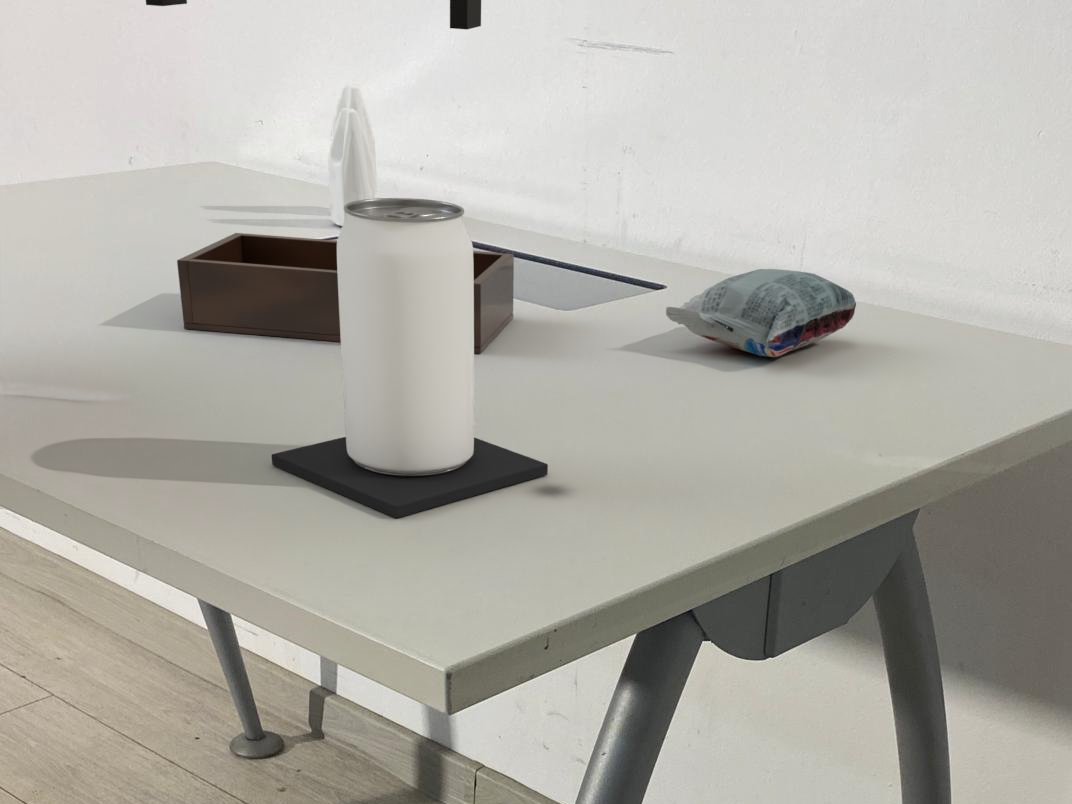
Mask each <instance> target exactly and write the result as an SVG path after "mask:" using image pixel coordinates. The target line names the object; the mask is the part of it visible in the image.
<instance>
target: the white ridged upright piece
mask: <svg viewBox="0 0 1072 804" xmlns="http://www.w3.org/2000/svg"><path fill="white" fill-rule="evenodd" d="M327 168H328V169H327V173H328V187H329V188H328V192H329V193H328V195H329V207H330V208H329V209H330V221H332V222H333V223H334V224H335V225H337V226H341V227H342V226H343V224H344V221H345V217H346V212H345V211H344V206H345V205H346V204H347V203H350V202H354V201H358V200H365V199H377V198H379V195H378V179H377V175H378V174H377V157H376V141H375V136H374V131H373V128H372V125H371V122H370V119H369V114H368V111H367V107H366V104H365V101H364V99H363V95H362V93H361V90H360V88H359V86H358V85H356V84H353V85H352V84H344V86H343V87H342V88H341V92H340V94H339V96H338V100H337V104H336V106H335V110H334V115H333V121H332V125H331V132H330V145H329V152H328V157H327Z"/></svg>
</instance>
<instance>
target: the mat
mask: <svg viewBox="0 0 1072 804" xmlns="http://www.w3.org/2000/svg"><path fill="white" fill-rule="evenodd" d="M271 465H272V466H274V467H275V468H278V469H280V470H283V471H285V472H288V473H290V474H292V475H294V476H296V477H299V478H302V479H304V480H306V481H309V482H311V483H313V484H315V485H318V486H320V487H323V488H325V489H328V490H330V491H332V492H334V493H337V494H338V495H341V496H344V497H346V498H348V499H350V500H352V501H355V502H357V503H360V504H362V505H365V506H366V507H369V508H372V509H374V510H376V511H378V512H381V513H383V514H385V515H388V516H390V517H392V518H394V519H400V518H402V517H406V516H411V515H413V514H416V513H419V512H424V511H426V510H427V511H428V510H430V509H434V508H437V507H440V506H444V505H448V504H450V503H454V502H459V501H461V500H462V501H463V500H466V499H469V498H471V497H472V498H473V497H475V496H478V495H482V494H485V493H490V492H492V491H496V490H499V489H503V488H505V487H509V486H514V485H516V484H520V483H523V482H527V481H531V480H534V479H537V478H541V477H544V476H547V475H548V471H549V470H548V469H549V465H548V463H546V462H544V461H541V460H538V459H534V458H532V457H530V456H527V455H524V454H522V453H520V452H519V453H518V452H515V451H513V450H510V449H507V448H505V447H502V446H499V445H496V444H494V443H491V442H488V441H485V440H483V439H479V438H477V437H474V451H473V455H472V456H471V458H470V459H468V461H467V463H466V464H465V465H464V466H462V467H461V468H459V469H457V470H455V471H452V472H448V473H445V474H440V475H434V476H424V477H399V476H389V475H383V474H378V473H374V472H371V471H368V470H365V469H363V468H361V467H359V466H358V465H356V464H355V462H354V461H353V459H352V458H351V457H350V456H349V455H348V453H347V446H346V436H343V437H337V438H334V439H330V440H325V441H321V442H317V443H314V444H308V445H305V446H300V447H297V448H292V449H287V450H284V451H280V452H274V453H271Z"/></svg>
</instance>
